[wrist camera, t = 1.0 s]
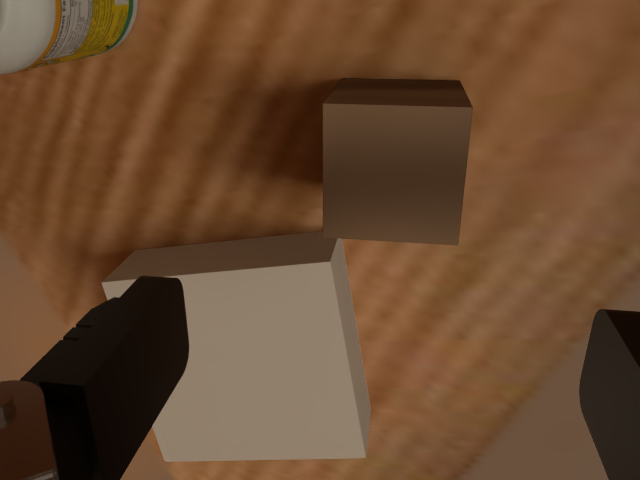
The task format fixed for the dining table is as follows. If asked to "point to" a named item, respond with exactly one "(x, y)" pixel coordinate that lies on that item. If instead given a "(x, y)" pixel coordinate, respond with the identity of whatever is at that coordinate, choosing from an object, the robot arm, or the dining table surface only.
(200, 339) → the riser block
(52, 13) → the supplement bottle
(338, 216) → the walnut block
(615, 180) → the dining table surface
